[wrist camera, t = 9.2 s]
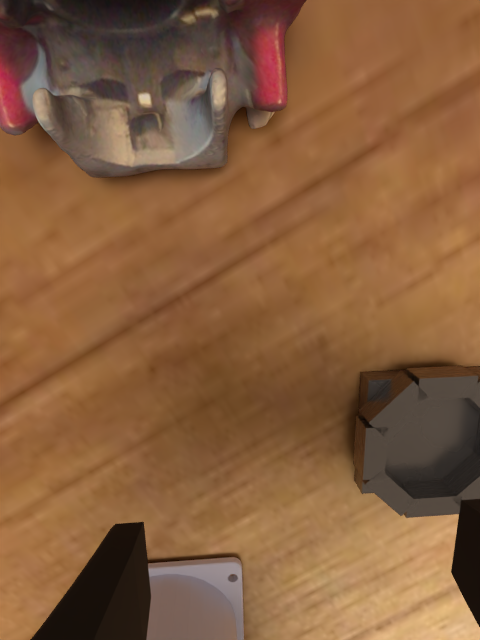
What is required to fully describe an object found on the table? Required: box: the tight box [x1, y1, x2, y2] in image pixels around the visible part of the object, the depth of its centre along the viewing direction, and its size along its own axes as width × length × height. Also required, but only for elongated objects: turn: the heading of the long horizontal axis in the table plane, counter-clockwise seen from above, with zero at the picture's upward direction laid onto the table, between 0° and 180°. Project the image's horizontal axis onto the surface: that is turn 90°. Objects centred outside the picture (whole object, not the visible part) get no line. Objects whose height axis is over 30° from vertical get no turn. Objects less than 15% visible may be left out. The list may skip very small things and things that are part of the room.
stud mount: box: [354, 366, 480, 518], centre depth 18 cm, size 7×7×2 cm
